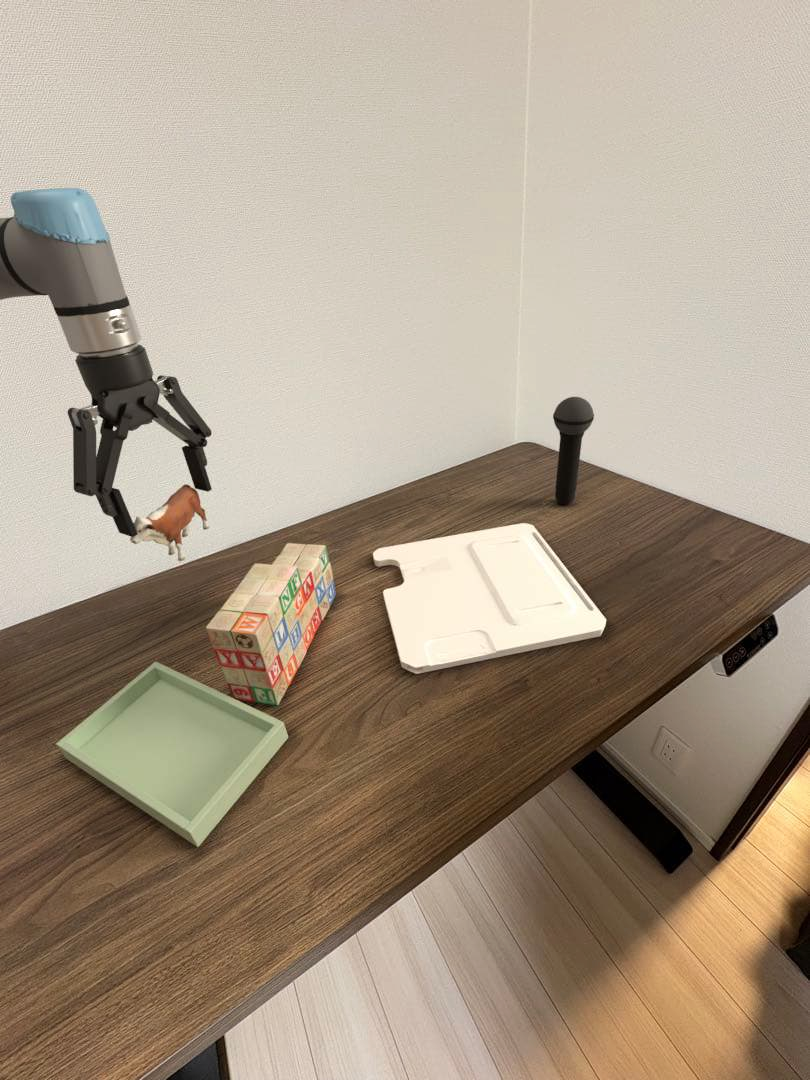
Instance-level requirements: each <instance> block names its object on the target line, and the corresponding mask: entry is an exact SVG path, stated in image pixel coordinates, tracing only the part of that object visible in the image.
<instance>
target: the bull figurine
mask: <svg viewBox="0 0 810 1080" xmlns="http://www.w3.org/2000/svg"><path fill="white" fill-rule="evenodd" d="M196 514H197V515H198V516H199V517H200V518H201V520H202V529H203V530H204V531H205V530H208V529H210V524H209V523H210V522H209V521H208V519H207V516H206V510H205V509H204V508H203V507H202V506H201V499H200V495H199V493H198V490H197V489H195V487H192V486H191V485H189V484H188V483H187V484H183V485H182V486H181V487H179V488H178V489H177V490H176V491H175V492H174V493H173V494H172V495H170V496H169V498H168V499H167V501H165V502H164V504H163V505H161V506H159V507H158V508H156V509H155V510H154V511H153V510H152V511H151V512H150V513H149V514H148V515H147V516H146V517H143V516H136V517H135V520H134V521H133V524H134V526H135V529H136V531H137V533H138V534H137V535H136V536H134V537H131V536H130V538H129V541H130V542H131V543H132V544H134V545H138V544H140V543H141V542H150V541H153V542H154V543H156V544H159V545H164V546H167V547H168V556H173V555H174V554H176V549H177V561H178V562H182V561H185V560H186V553H185V551H183V541H182V538H186V537H188V536H189V531H190V528H189V525H190V523H191V522H192V521H193V518H195V515H196ZM173 542H174V544H173ZM174 545H175V546H174Z"/></svg>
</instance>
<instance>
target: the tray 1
mask: <svg viewBox="0 0 810 1080" xmlns="http://www.w3.org/2000/svg"><path fill="white" fill-rule="evenodd" d="M288 739H289V735H288V732H287V728H286V725H285V722H284V721H282V720H279V719H278V718H276V717H273V716H272V715H270V714H267V713H265V712H263V711H261V710H259V709H257V708H254V707H252V706H251V705H248V704H246V703H245V702H242V701H241V700H236V699H234V698H233V697H231V696H229V695H227V694H225V693H223V692H221V691H219V690H217V689H215V688H212V687H211V686H209V685H206V684H204V683H202V682H200V681H198V680H196V679H193V678H192V677H189V676H188V675H185V674H184V673H181V672H180V671H179V672H178V671H177V670H174V669H172V668H170V667H168V666H166V665H164V664H162V663H160V662H158V661H154V662H153V663H151V665H149V666H147V668H146V669H145V670H142V672H140V673H139V674H138V675H137V676H136V677H135V678H134V679H132V680H131V681H130V682H129V683H128V684H126V685H125V686H124V687H123V688H122V689H120V690H118V692H116V693H115V694H114V695H113V696H112V697H110V698H109V699H107V701H105V702H104V703H103V704H102V705H101V706H100V707H98V708H97V709H96V710H94V712H93V713H91V714H90V715H88V717H86V718H85V719H84V720H83V721H81V723H79V724H78V725H77V726H75V727H74V728H73V729H72V730H71V731H69V732H68V733H67V734H66V735H65V736H64V737H62V738H60V740H58V742H56V743H55V745H56V747H57V748H58V749H59V751H60V753H61V754H62V755H63V756H64V758H65V760H68V761H69V762H71V763H72V764H74V765H75V766H76V767H78V768H79V769H80V770H82V771H83V772H85V773H87V774H88V775H90V776H91V777H93V778H94V779H96V780H97V781H99V782H100V783H102V784H103V785H105V786H106V787H108V788H109V789H111V790H112V791H113V792H115V793H117V794H118V795H120V796H121V797H122V798H124V799H125V800H127V801H128V802H130V803H131V804H133V805H134V806H136V807H137V808H139V809H140V810H142V811H143V812H145V813H146V814H147V815H149V816H151V817H152V818H154V819H155V820H157V822H159V823H161V824H162V825H164V826H165V827H167V828H168V829H170V830H171V831H173V832H174V833H175V834H177V835H178V836H180V837H182V838H183V839H185V840H186V841H188V842H189V843H191V844H192V845H193V846H195V847H197V848H199V847H200V846H201V845H202V843H203V842H204V841H205V840H206V839H207V837H208V836H209V835H210V834H211V833H212V831H213V830H214V829H215V828H216V826H217V825H218V824H219V822H220V821H221V820H222V819H223V818H224V817H225V815H226V814H227V813H228V812H229V811H230V810H231V808H232V807H233V806H234V804H235V803H236V802H237V801H238V800H239V799H240V797H241V796H242V795H243V794H244V792H245V791H246V790H247V789H248V788H249V786H250V785H251V784H252V783H253V782H254V780H255V779H256V778H257V777H258V776H259V774H260V773H261V772H262V771H263V770H264V768H265V767H266V765H267V764H268V763H269V762H270V761H271V759H272V758H273V757H274V756H275V754H277V752H278V751H279V750H280V749H281V748H282V746H283V745H284V744H285V743H286V742H287V740H288Z"/></svg>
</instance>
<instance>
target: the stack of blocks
mask: <svg viewBox="0 0 810 1080" xmlns="http://www.w3.org/2000/svg"><path fill="white" fill-rule="evenodd" d="M332 569H333V568H332V565H331V562H330V558H329V555H328V549H327V546H326V545H324V544H323V545H322V544H311V543H310V544H309V543H307V544H304V543H294V542H293V543H291V542H287V543H286V544H285V546H283V549H282V550H281V551H280V553H279V555H277V557H276V558H275V559H274V561H273V562H272V564H268V563H259V562H258V563H257V562H255V563H254V564H253V565H252V566H251V568H250V569H249V571H247V573H246V574H245V576H244V578H243V579H242V580H241V582H240V583H239V584H238V586H237V587H236V588H235V590H234V592H233V593H231V595H230V596H229V597H228V598H227V600H226V601H225V602H224V603H223V606H221V608H220V610H218V611H217V612H216V614H215V615H214V616H213V617H212V619H211V620H210V622H209V623H208V624H207V626H206V628H205V630H206V631H207V632H206V633H207V634H208V637H209V640H210V642H211V644H212V649H213V652H214V655H215V658H216V660H217V663H218V665H219V666H220V668H221V671H222V673H223V676H224V678H225V681H226V683H227V687H228V689H229V692H230V694H231V696H232V697H231V698H234V699H236V700H238V701H241V702H242V701H243V702H250V703H257V704H258V703H259V704H265V705H271V706H277V707H278V706H279V705H280V703H281V701H282V699H283V697H284V696H285V693H286V691H287V689H288V687H290V686H291V683H292V681H293V679H294V678H295V676H296V674H297V672H298V670H299V668H300V666H301V664H302V663H303V660H304V658H305V656H306V655H307V651H308V649H309V647H310V645H311V643H312V641H313V639H314V638H315V635H316V634H317V631H318V630H319V627H320V625H321V624H322V621H323V620H324V619H325V617H326V615H327V613H328V611H329V610H330V607H331V606H332V603H333V601H334V599H335V597H336V595H337V592H336V585H335V581H334V575H333V570H332Z"/></svg>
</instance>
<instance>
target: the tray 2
mask: <svg viewBox="0 0 810 1080" xmlns="http://www.w3.org/2000/svg"><path fill="white" fill-rule="evenodd" d="M372 558H373V563H374V565H375V567H377V568H380V567H385V566H395V567H397V568H398V569H399V571H400V573H401V577H402V580H403V582H402V583H401V584H400V585H398V586H394V587H390V588H385V589H384V590H383V592H382V595H383V600H384V605H385V608H386V613H387V616H388V620H389V623H390V624H389V625H390V629H391V632H392V636H393V640H394V643H395V647H396V649H397V650H396V651H397V655H398V658H399V662H400V665H401V668H402V669H404V670H406V671H408V672H411V673H412V674H415V675H417V674H419V675H420V674H423V673H429V672H433V671H438V670H443V669H447V668H452V667H456V666H463V665H467V664H472V663H476V662H477V663H478V662H481V661H486V660H493V659H497V658H501V657H506V656H511V655H516V654H521V653H525V652H530V651H536V650H539V649H546V648H550V647H555V646H560V645H563V644H569V643H574V642H579V641H583V640H589V639H593V638H599V637H601V636H602V634H603V632H604V630H605V628H606V624H607V618H606V617H605V616H604V615H603V613H602V612H601V611H600V609H599V608H598V607H597V605H596V604H595V603H594V602H593V600H592V599H591V598H590V596H589V595H588V594H587V593H586V591H585V590H584V589H583V587H582V586H581V584H579V582H578V581H577V580H576V578H575V577H574V576H573V575H572V573H571V572H570V571H569V570H568V568H567V567H566V566H565V564H564V563H563V562H562V561H561V559H560V558H559V556H558V555H557V554H556V553H555V551H554V550H553V549H552V547H551V546H550V545H549V544H548V543H547V541H546V540H545V539H544V537H543V536H542V534H541V533H540V532H539V531H538V529H537V528H536V527H535V526H534V525H533V524H530V523H527V522H520V523H516V524H515V523H514V524H509V525H504V526H498V527H493V528H486V529H481V530H475V531H470V532H464V533H457V534H453V535H446V536H441V537H435V538H430V539H429V538H428V539H423V540H417V541H412V542H406V543H401V544H395V545H390V546H383V547H379V548H377V549H376V550H375V551H374V552H372Z"/></svg>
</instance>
